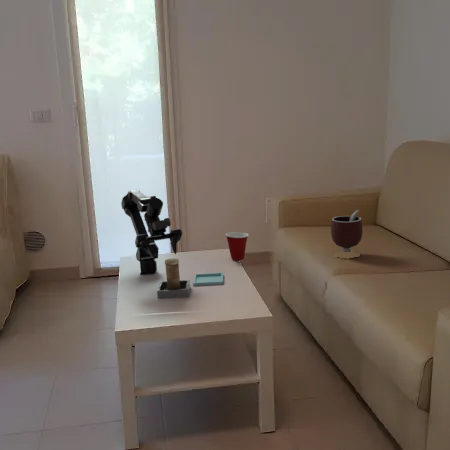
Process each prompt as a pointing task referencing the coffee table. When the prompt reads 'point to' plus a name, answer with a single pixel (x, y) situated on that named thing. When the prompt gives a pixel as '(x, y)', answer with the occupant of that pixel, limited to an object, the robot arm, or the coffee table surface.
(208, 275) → the tray
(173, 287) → the canister
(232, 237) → the plastic cup
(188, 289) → the holder
